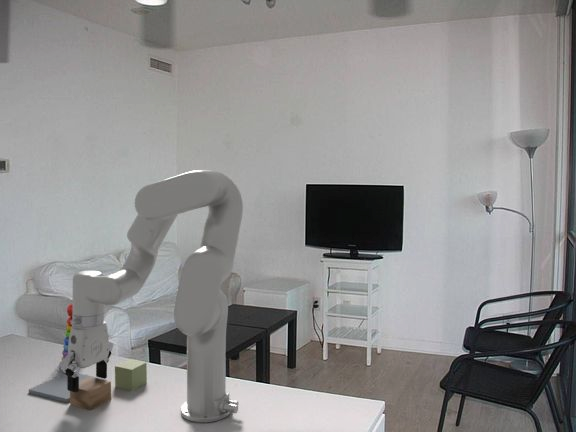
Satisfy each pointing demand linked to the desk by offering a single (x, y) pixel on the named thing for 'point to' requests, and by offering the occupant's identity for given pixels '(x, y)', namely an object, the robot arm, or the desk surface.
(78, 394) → the walnut block
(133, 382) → the olive block
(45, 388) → the baseplate
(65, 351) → the stacking toy
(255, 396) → the desk surface
